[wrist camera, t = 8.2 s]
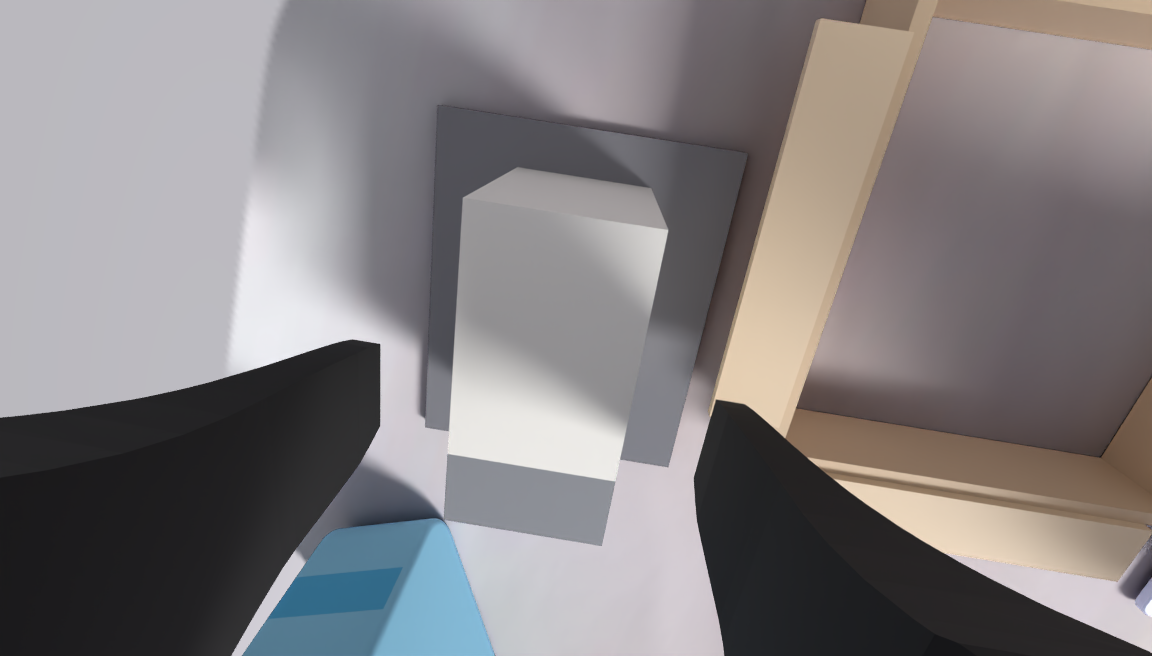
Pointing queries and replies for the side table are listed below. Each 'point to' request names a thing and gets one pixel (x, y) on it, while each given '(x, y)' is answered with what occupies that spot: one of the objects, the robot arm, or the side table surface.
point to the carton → (811, 278)
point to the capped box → (548, 349)
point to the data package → (378, 598)
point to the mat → (671, 169)
